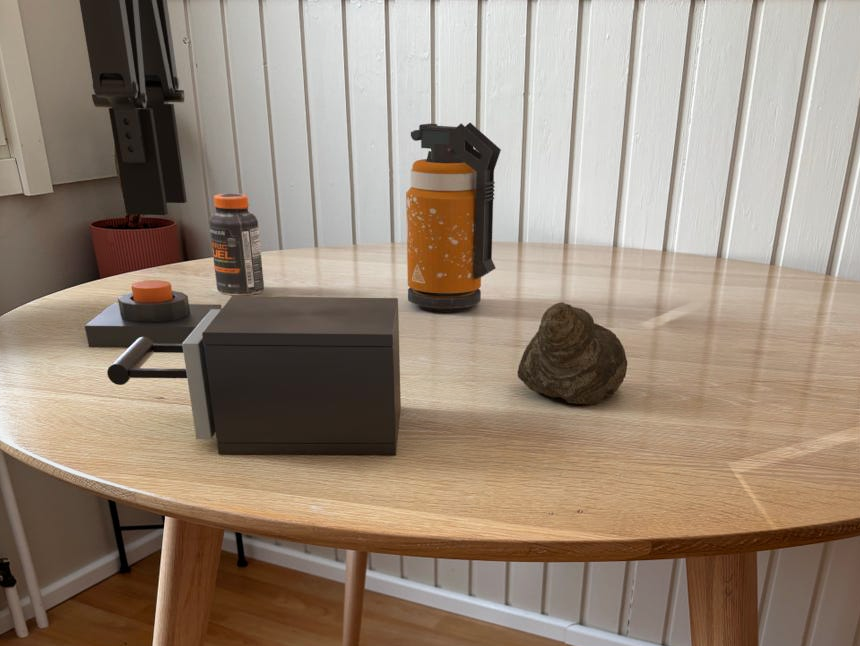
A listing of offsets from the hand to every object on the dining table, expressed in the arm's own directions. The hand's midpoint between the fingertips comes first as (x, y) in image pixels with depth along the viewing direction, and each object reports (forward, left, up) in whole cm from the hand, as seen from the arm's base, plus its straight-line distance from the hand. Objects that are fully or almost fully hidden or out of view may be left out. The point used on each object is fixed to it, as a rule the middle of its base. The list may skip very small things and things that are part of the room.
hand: (157, 207), depth 69 cm
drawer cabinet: (+10, 0, -17) cm, 20 cm away
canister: (+22, +44, -17) cm, 52 cm away
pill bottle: (-5, +51, -17) cm, 54 cm away
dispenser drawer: (+5, 0, -16) cm, 17 cm away
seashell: (+34, +11, -17) cm, 40 cm away
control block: (-10, +29, -17) cm, 35 cm away
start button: (-10, +29, -13) cm, 33 cm away
